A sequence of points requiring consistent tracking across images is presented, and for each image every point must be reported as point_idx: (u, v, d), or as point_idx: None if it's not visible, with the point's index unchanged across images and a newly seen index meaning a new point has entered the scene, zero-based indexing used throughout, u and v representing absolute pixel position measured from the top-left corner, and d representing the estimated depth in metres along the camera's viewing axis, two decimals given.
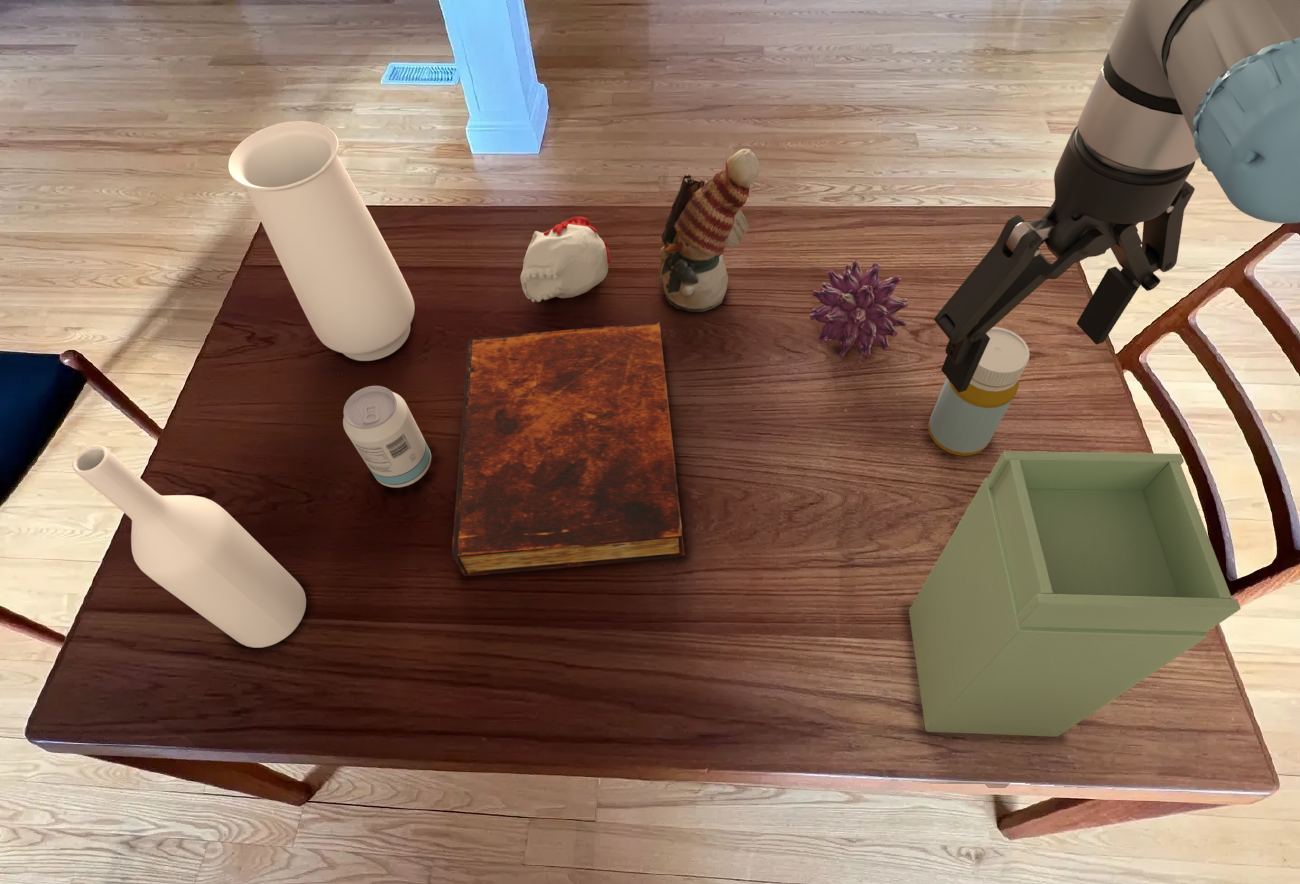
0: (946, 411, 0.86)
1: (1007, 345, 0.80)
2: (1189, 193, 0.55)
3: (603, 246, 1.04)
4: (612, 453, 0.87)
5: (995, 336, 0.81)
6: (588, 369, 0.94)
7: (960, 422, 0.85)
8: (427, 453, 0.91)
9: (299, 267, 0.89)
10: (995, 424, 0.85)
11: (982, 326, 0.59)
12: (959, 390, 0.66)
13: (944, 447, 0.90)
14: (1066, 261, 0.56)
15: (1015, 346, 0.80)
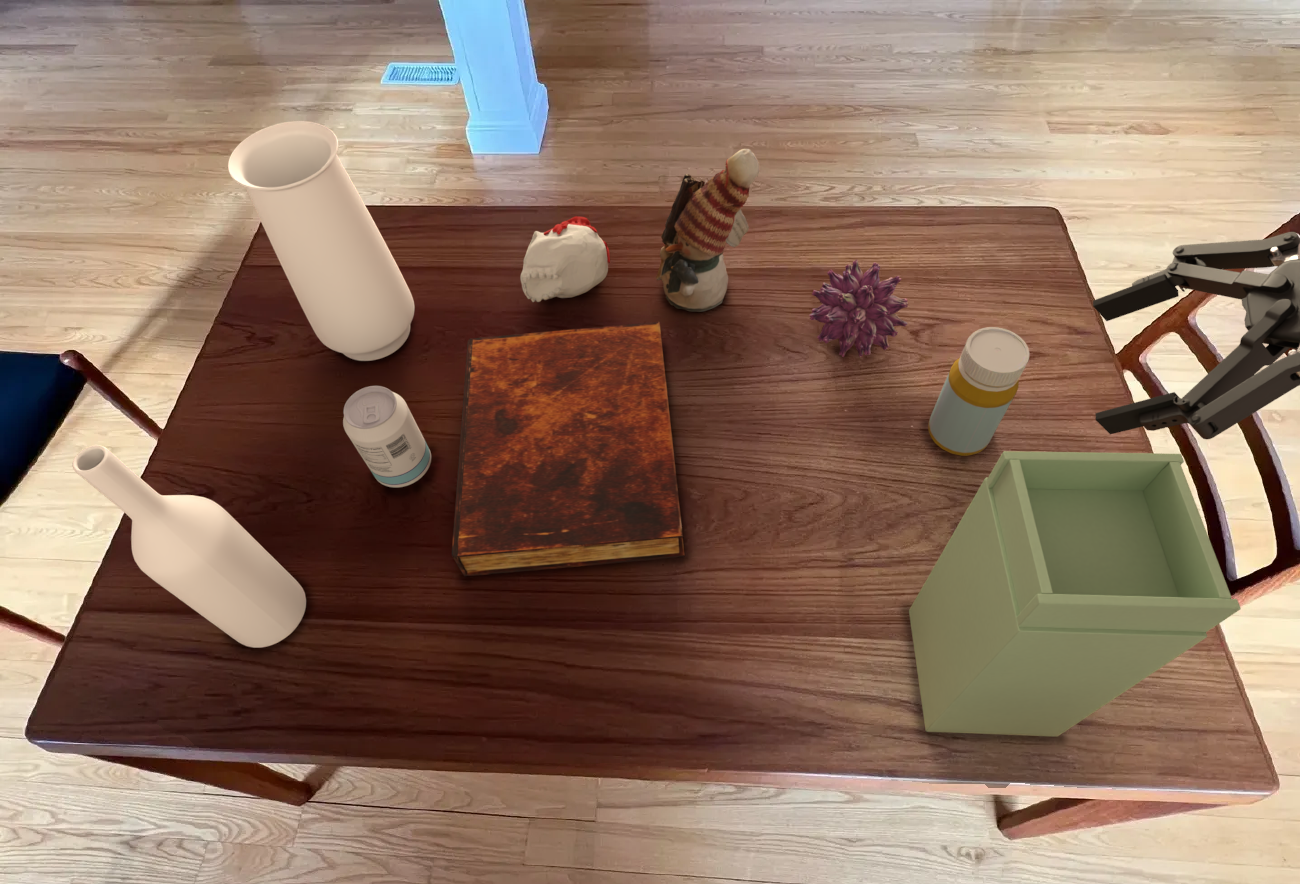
0: (946, 411, 0.86)
1: (1007, 345, 0.80)
2: None
3: (603, 246, 1.04)
4: (612, 453, 0.87)
5: (995, 337, 0.81)
6: (588, 369, 0.94)
7: (960, 422, 0.85)
8: (427, 453, 0.91)
9: (299, 267, 0.89)
10: (995, 424, 0.85)
11: (1185, 264, 0.73)
12: (1095, 300, 0.78)
13: (944, 447, 0.90)
14: (1257, 274, 0.66)
15: (1015, 346, 0.80)
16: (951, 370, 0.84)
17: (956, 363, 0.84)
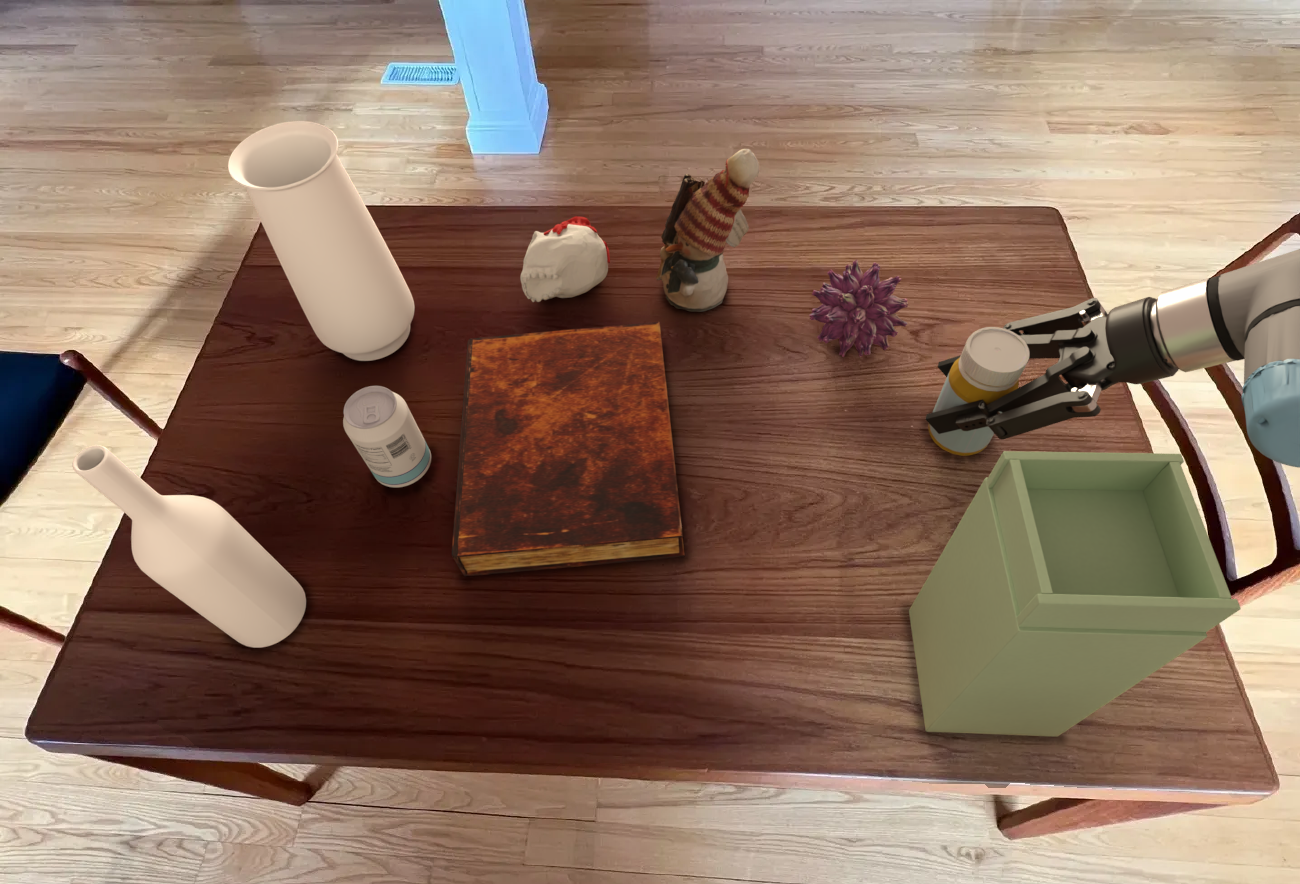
0: None
1: (1007, 345, 0.80)
2: (1082, 395, 0.72)
3: (603, 246, 1.04)
4: (612, 453, 0.87)
5: (995, 336, 0.81)
6: (588, 369, 0.94)
7: None
8: (427, 453, 0.91)
9: (299, 267, 0.89)
10: None
11: None
12: None
13: (944, 447, 0.90)
14: (1067, 331, 0.78)
15: (1015, 346, 0.80)
16: (951, 370, 0.84)
17: (956, 363, 0.84)
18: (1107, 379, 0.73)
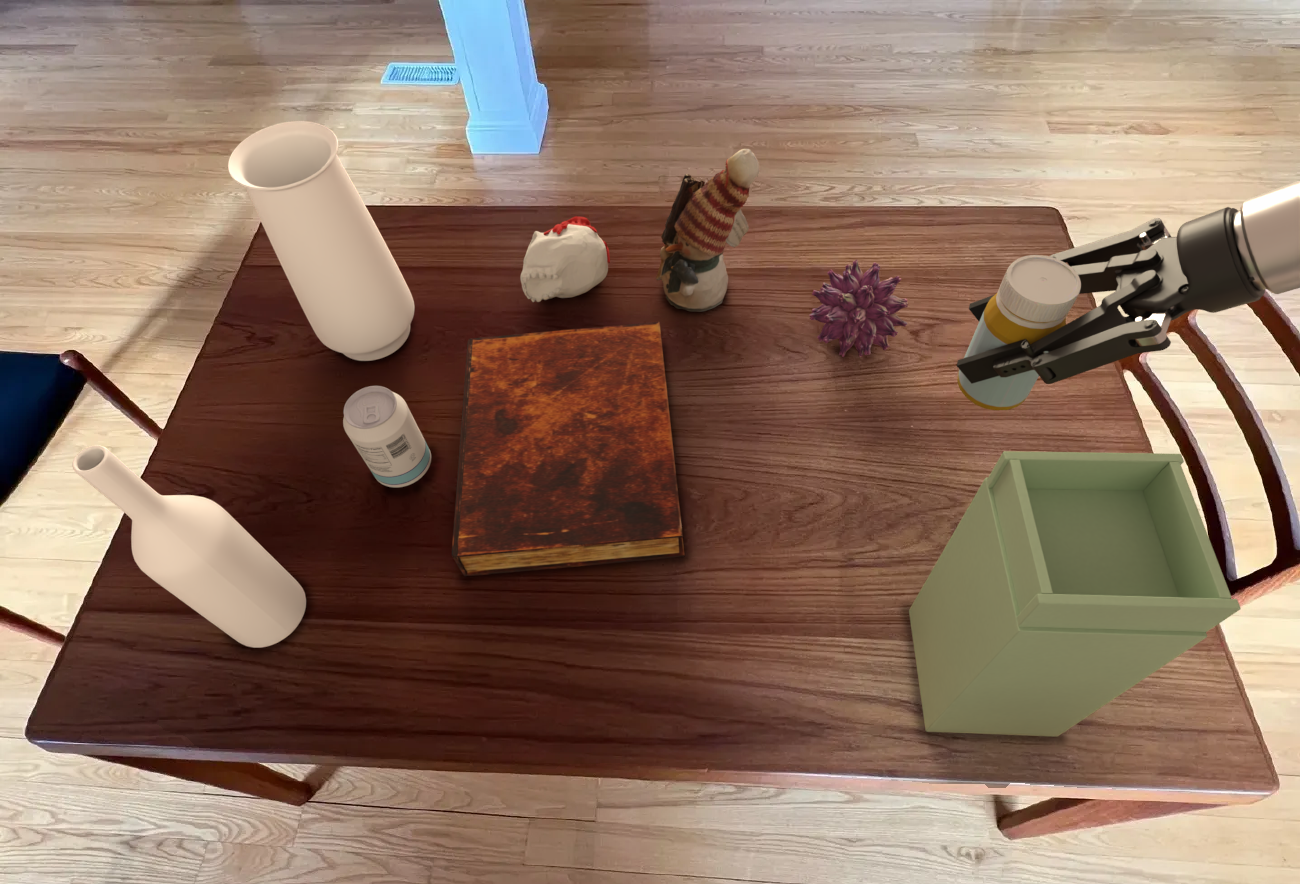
0: None
1: (1054, 275, 0.69)
2: (1150, 324, 0.61)
3: (603, 246, 1.04)
4: (612, 453, 0.87)
5: (1040, 265, 0.70)
6: (588, 369, 0.94)
7: None
8: (427, 453, 0.91)
9: (299, 267, 0.89)
10: None
11: None
12: (972, 303, 0.79)
13: (976, 401, 0.79)
14: (1126, 256, 0.67)
15: (1063, 276, 0.69)
16: (987, 308, 0.73)
17: (993, 299, 0.72)
18: (1178, 306, 0.62)
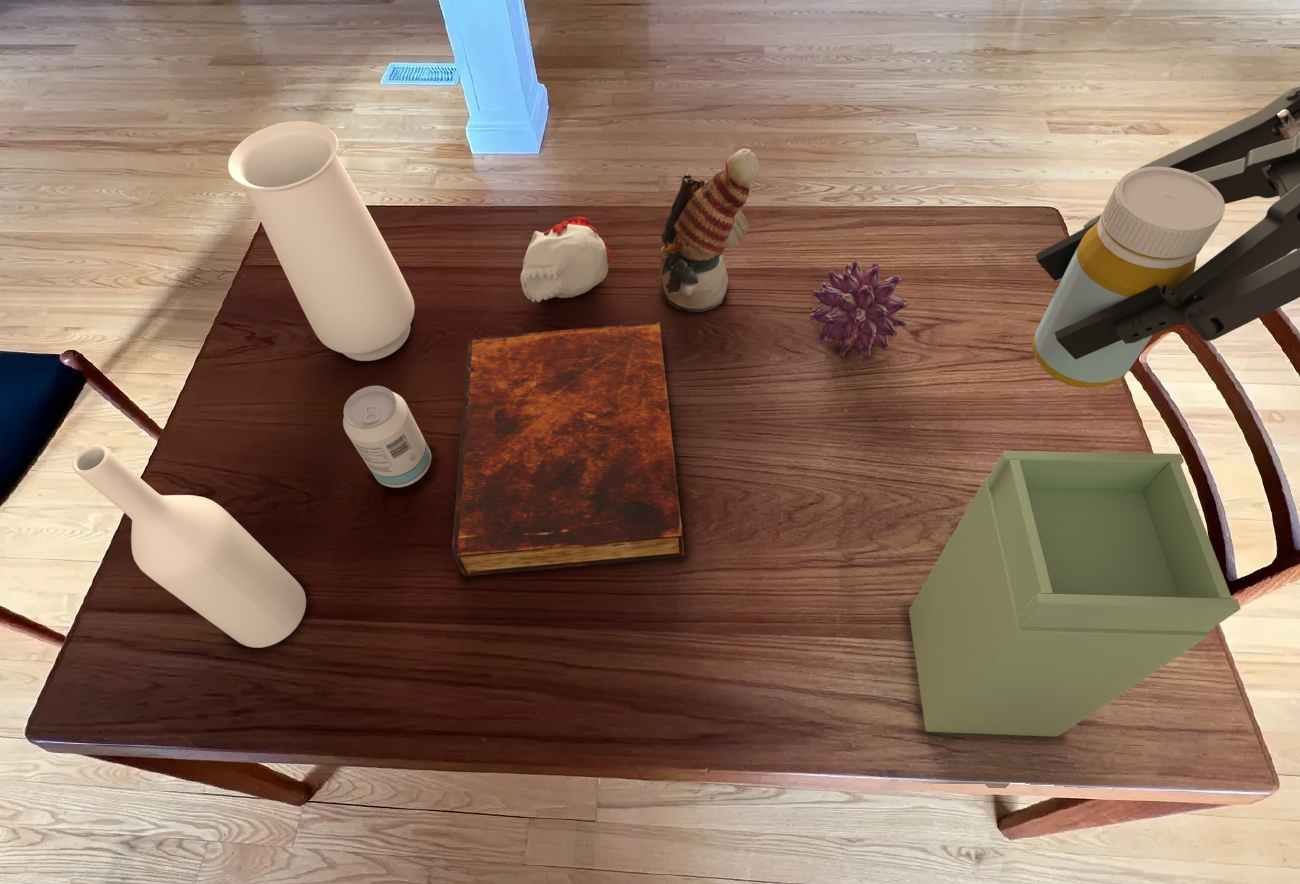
0: None
1: (1179, 189, 0.49)
2: None
3: (603, 246, 1.04)
4: (612, 453, 0.87)
5: (1155, 181, 0.50)
6: (588, 369, 0.94)
7: None
8: (427, 453, 0.91)
9: (299, 267, 0.89)
10: None
11: None
12: (1039, 253, 0.58)
13: (1074, 381, 0.58)
14: (1276, 145, 0.48)
15: (1192, 189, 0.49)
16: (1084, 253, 0.53)
17: (1091, 240, 0.52)
18: None
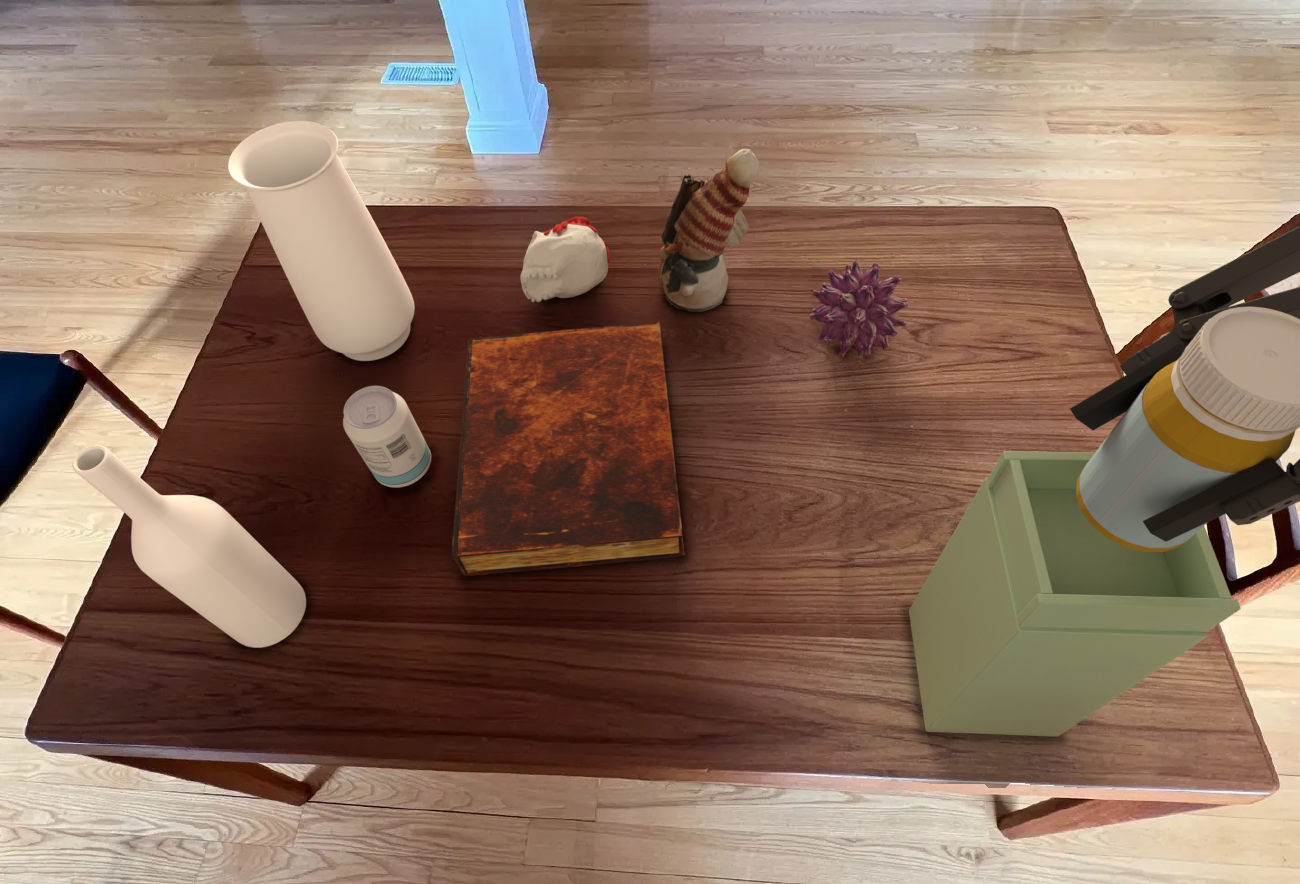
0: (1165, 496, 0.43)
1: (1274, 337, 0.38)
2: None
3: (603, 246, 1.04)
4: (612, 453, 0.87)
5: (1240, 330, 0.39)
6: (588, 369, 0.94)
7: None
8: (427, 453, 0.91)
9: (299, 267, 0.89)
10: None
11: (1204, 314, 0.43)
12: (1074, 407, 0.47)
13: (1149, 548, 0.47)
14: None
15: (1287, 333, 0.39)
16: (1162, 424, 0.41)
17: (1170, 408, 0.41)
18: None
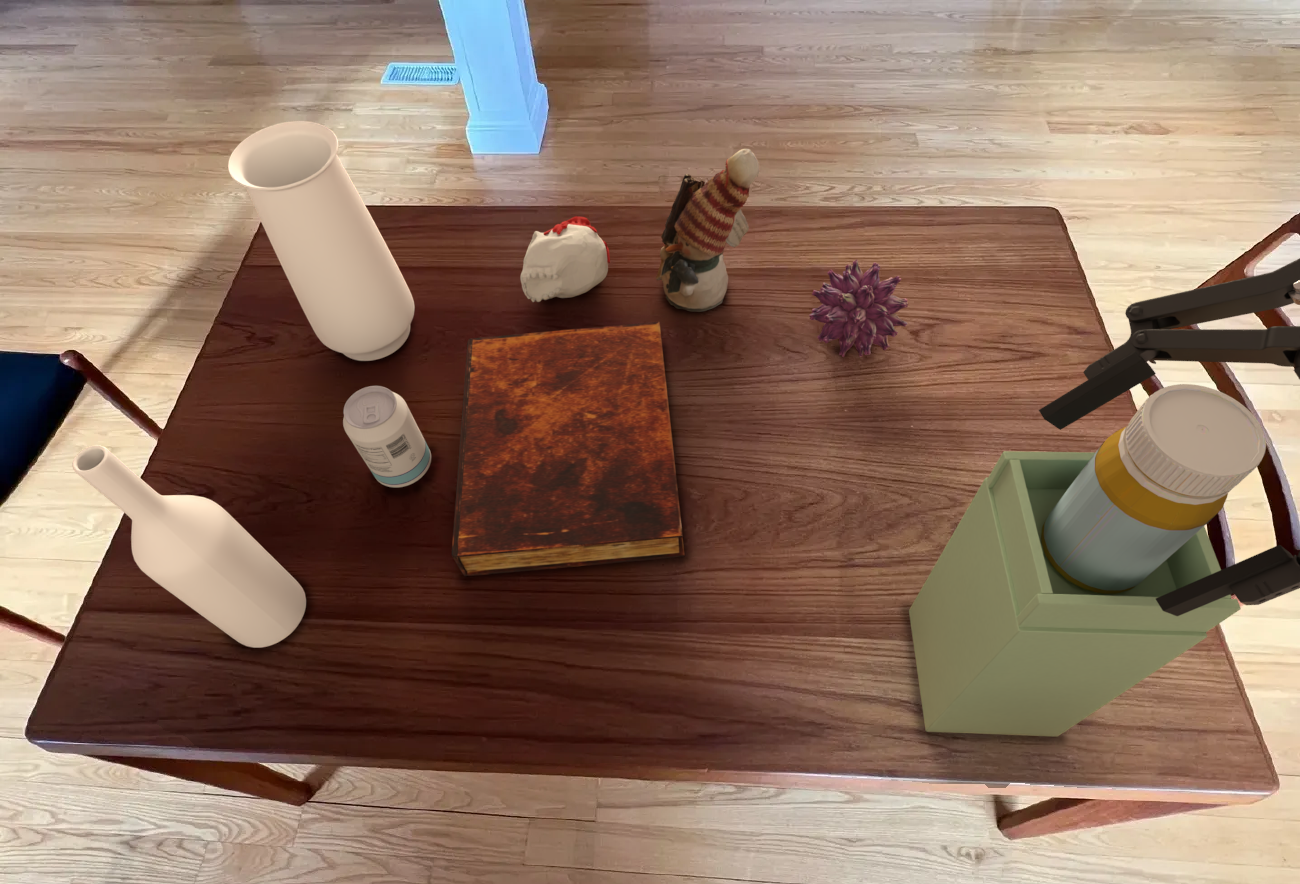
0: (1115, 547, 0.48)
1: (1206, 412, 0.44)
2: None
3: (603, 246, 1.04)
4: (612, 453, 0.87)
5: (1177, 406, 0.44)
6: (588, 369, 0.94)
7: (1148, 556, 0.48)
8: (427, 453, 0.91)
9: (299, 267, 0.89)
10: None
11: (1159, 330, 0.48)
12: (1042, 408, 0.52)
13: (1105, 591, 0.52)
14: None
15: (1218, 409, 0.44)
16: (1111, 486, 0.46)
17: (1117, 472, 0.46)
18: None
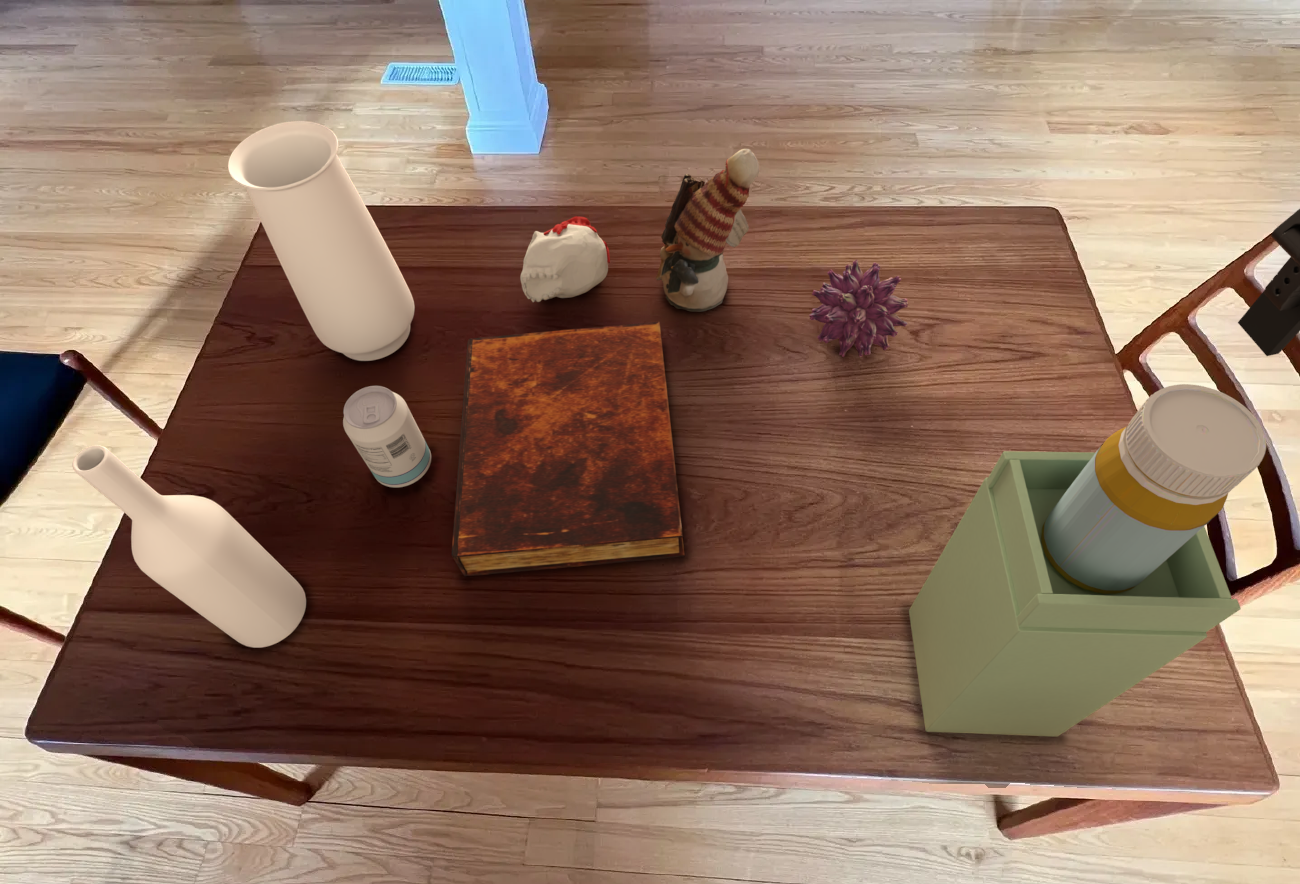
0: (1116, 547, 0.48)
1: (1206, 413, 0.44)
2: None
3: (603, 246, 1.04)
4: (612, 453, 0.87)
5: (1177, 406, 0.44)
6: (588, 369, 0.94)
7: (1148, 556, 0.48)
8: (427, 453, 0.91)
9: (299, 267, 0.89)
10: None
11: None
12: (1269, 352, 0.45)
13: (1105, 591, 0.52)
14: None
15: (1218, 409, 0.44)
16: (1111, 486, 0.46)
17: (1117, 472, 0.46)
18: None
